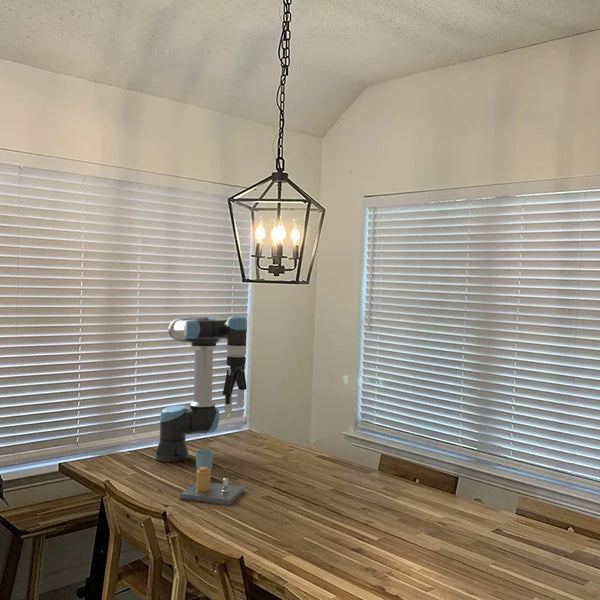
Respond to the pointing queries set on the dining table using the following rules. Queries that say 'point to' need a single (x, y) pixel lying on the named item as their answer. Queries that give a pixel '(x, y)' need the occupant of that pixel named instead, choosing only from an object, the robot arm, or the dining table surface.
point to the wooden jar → (203, 479)
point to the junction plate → (214, 493)
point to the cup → (204, 458)
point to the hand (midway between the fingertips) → (234, 408)
